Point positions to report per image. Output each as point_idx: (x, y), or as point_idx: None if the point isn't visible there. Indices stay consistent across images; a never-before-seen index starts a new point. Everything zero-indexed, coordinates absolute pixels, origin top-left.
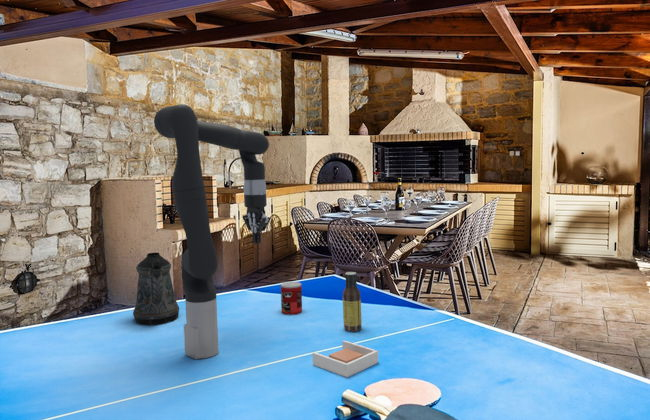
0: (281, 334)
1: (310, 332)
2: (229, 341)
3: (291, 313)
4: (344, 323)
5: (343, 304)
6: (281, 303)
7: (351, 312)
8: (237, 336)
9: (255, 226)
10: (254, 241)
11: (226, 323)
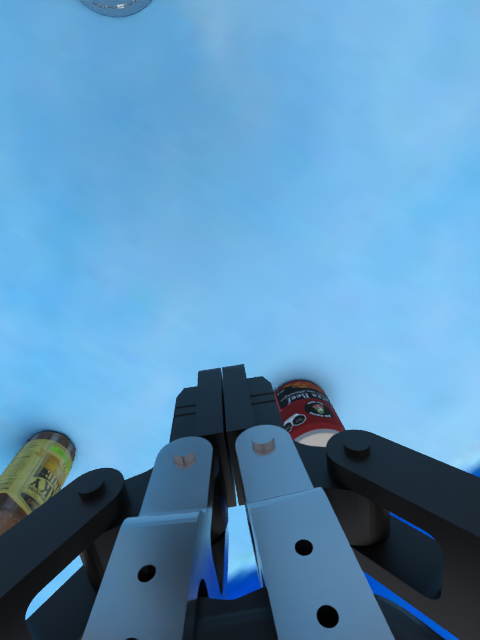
0: (129, 276)
1: (94, 351)
2: (170, 101)
3: (274, 394)
4: (46, 441)
5: (22, 482)
6: (318, 395)
7: (2, 474)
8: (199, 151)
9: (152, 518)
10: (216, 374)
11: (344, 188)
